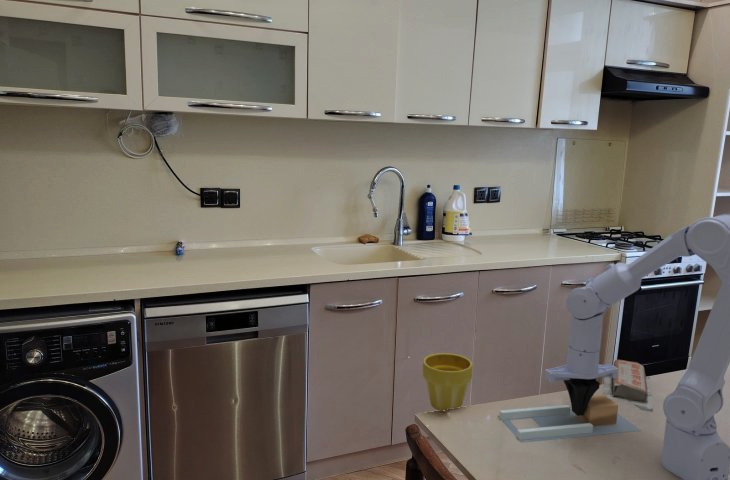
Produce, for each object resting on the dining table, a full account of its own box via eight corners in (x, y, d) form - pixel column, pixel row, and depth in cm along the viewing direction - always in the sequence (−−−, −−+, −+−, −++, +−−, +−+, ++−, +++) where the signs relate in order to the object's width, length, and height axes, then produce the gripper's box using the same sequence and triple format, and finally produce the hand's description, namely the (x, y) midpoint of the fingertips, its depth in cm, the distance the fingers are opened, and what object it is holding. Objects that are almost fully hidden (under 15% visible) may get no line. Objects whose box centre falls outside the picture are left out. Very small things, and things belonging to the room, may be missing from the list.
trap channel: (640, 435, 104) (642, 423, 103) (521, 447, 98) (522, 434, 98) (607, 410, 113) (608, 399, 113) (497, 420, 108) (498, 408, 108)
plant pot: (413, 397, 118) (415, 354, 116) (456, 391, 121) (458, 350, 119) (433, 420, 108) (435, 374, 106) (479, 413, 111) (482, 368, 109)
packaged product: (605, 355, 132) (651, 362, 128) (604, 373, 133) (649, 381, 129) (603, 383, 116) (655, 392, 112) (601, 404, 117) (652, 414, 113)
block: (616, 424, 106) (618, 405, 105) (588, 426, 104) (590, 407, 104) (601, 413, 110) (603, 394, 109) (575, 415, 109) (577, 396, 108)
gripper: (604, 338, 109) (598, 400, 111) (538, 341, 106) (533, 406, 108) (627, 350, 102) (620, 417, 104) (558, 355, 99) (552, 423, 101)
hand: (577, 413), depth 106 cm, fingers closed
